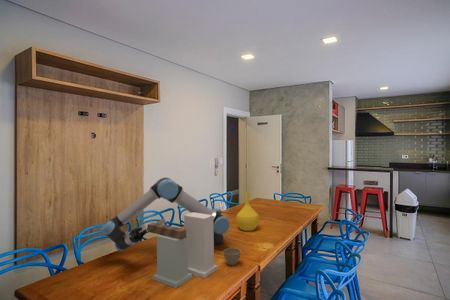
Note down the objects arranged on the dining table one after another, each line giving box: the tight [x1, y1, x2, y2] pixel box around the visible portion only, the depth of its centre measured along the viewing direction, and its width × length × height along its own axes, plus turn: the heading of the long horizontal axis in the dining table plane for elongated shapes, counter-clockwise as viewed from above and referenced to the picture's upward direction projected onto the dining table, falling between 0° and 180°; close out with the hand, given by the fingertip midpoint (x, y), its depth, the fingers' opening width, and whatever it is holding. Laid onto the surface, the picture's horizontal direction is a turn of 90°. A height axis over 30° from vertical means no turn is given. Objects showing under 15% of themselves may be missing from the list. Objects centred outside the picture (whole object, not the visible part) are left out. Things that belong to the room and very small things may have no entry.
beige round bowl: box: [222, 247, 242, 266], centre depth 153 cm, size 10×10×7 cm
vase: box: [235, 192, 260, 232], centre depth 216 cm, size 18×18×30 cm
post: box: [152, 234, 193, 289], centre depth 136 cm, size 16×12×22 cm
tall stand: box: [183, 212, 219, 279], centre depth 145 cm, size 16×12×30 cm
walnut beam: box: [147, 222, 186, 240], centre depth 138 cm, size 24×4×4 cm, turn 57°
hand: (156, 222), depth 142 cm, fingers open, 13 cm apart
